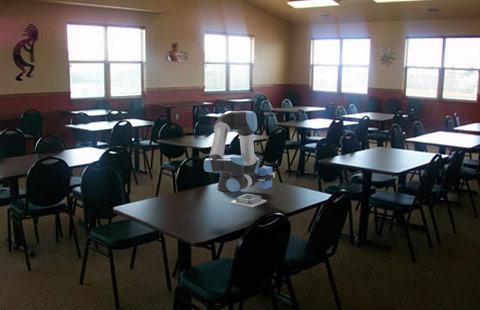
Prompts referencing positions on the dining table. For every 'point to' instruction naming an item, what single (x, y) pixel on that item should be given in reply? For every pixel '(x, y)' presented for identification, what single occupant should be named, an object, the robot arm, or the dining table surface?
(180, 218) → the dining table surface
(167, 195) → the dining table surface
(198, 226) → the dining table surface
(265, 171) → the blue drink carton
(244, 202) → the white square socket base
